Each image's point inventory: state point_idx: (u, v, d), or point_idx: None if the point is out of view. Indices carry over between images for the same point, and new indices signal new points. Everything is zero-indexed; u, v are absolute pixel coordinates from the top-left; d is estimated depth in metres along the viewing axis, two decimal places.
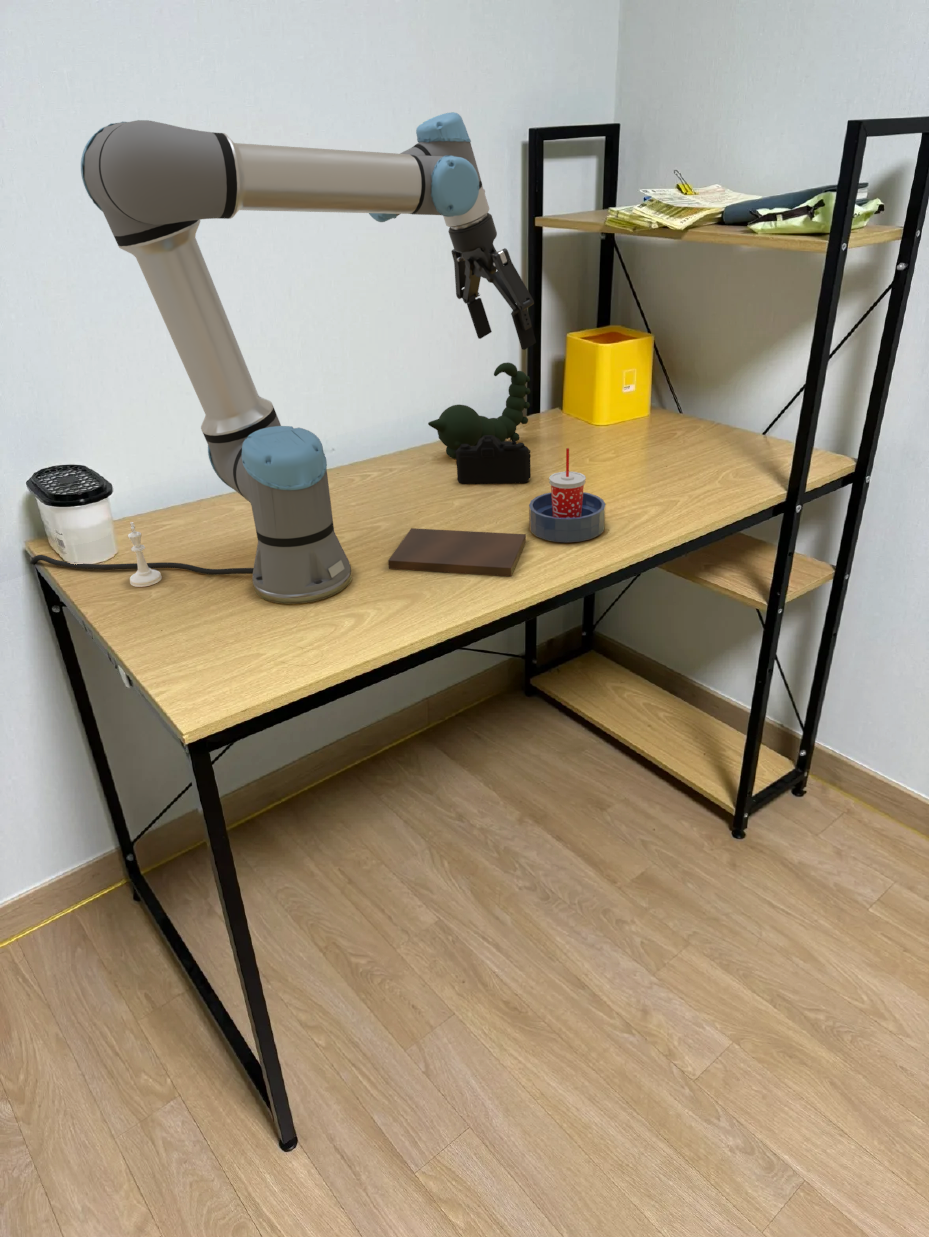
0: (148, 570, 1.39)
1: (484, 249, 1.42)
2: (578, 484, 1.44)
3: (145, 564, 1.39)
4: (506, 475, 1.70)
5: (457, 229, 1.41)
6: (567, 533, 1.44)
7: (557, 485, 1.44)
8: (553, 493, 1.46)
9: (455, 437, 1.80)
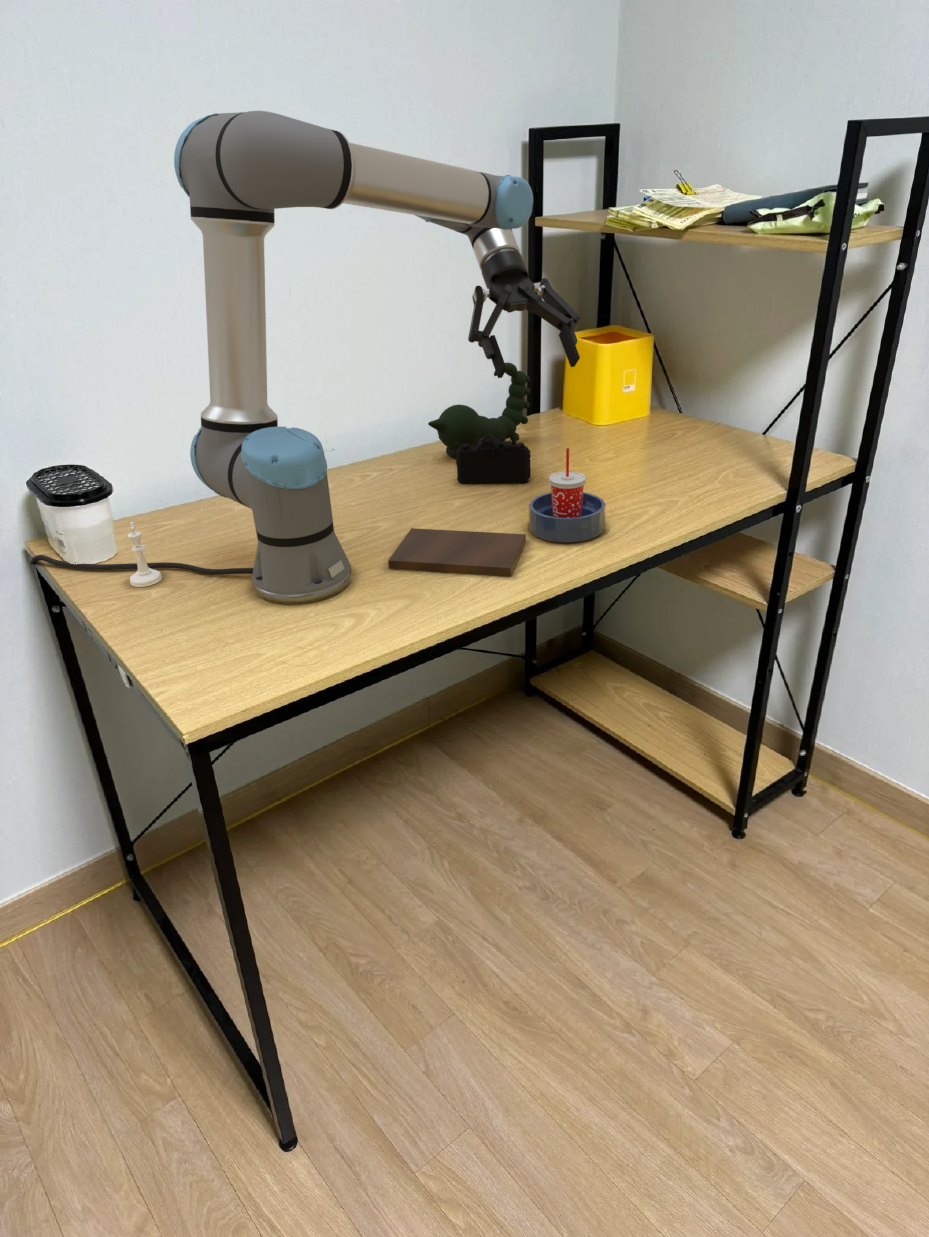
0: (148, 570, 1.39)
1: (528, 278, 1.51)
2: (578, 484, 1.44)
3: (145, 564, 1.39)
4: (506, 475, 1.70)
5: None
6: (567, 533, 1.44)
7: (557, 485, 1.44)
8: (553, 493, 1.46)
9: (455, 437, 1.80)
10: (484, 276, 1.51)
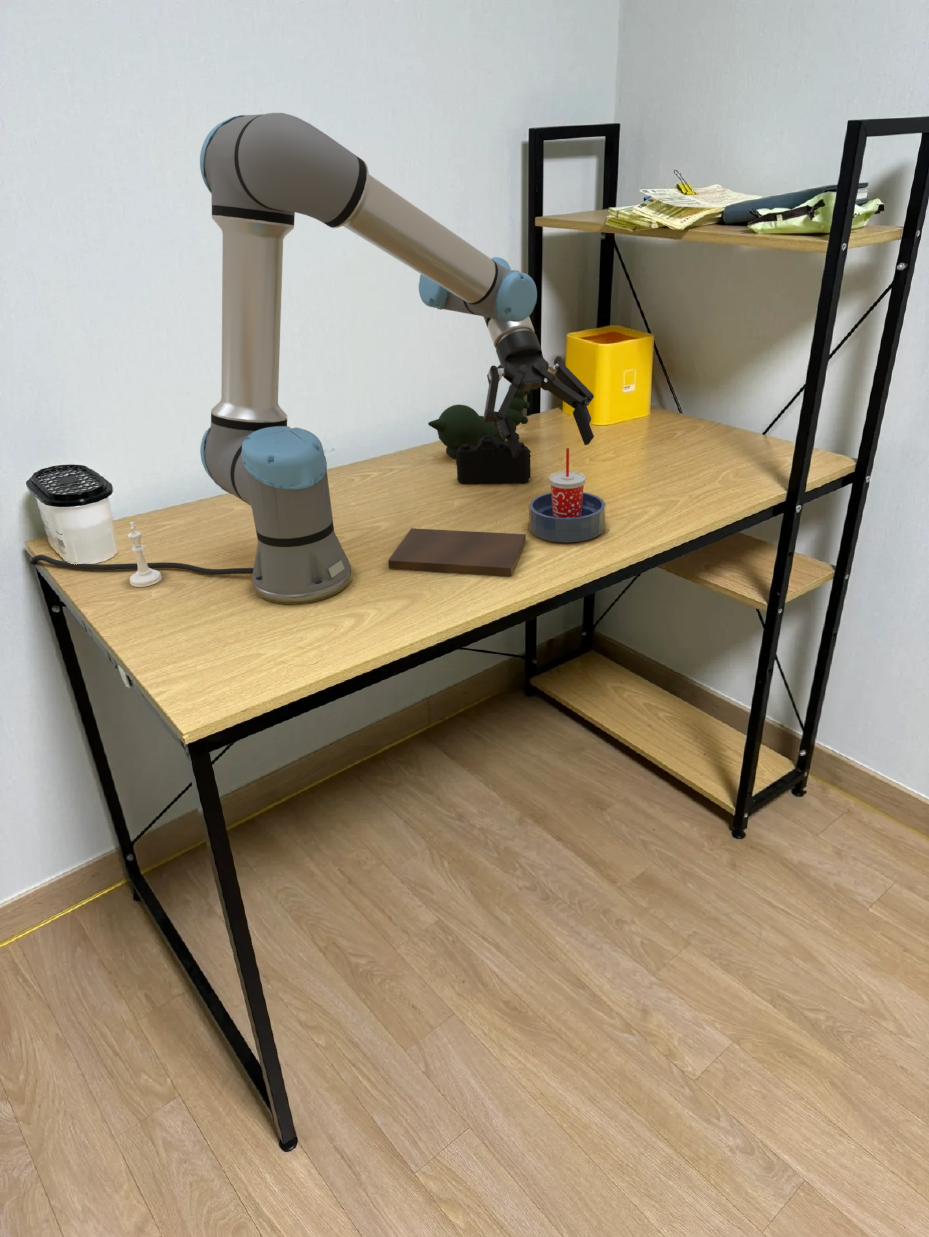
0: (148, 570, 1.39)
1: (542, 356, 1.53)
2: (578, 484, 1.44)
3: (145, 564, 1.39)
4: (506, 475, 1.70)
5: None
6: (567, 533, 1.44)
7: (557, 485, 1.44)
8: (553, 493, 1.46)
9: (455, 437, 1.80)
10: (499, 355, 1.52)
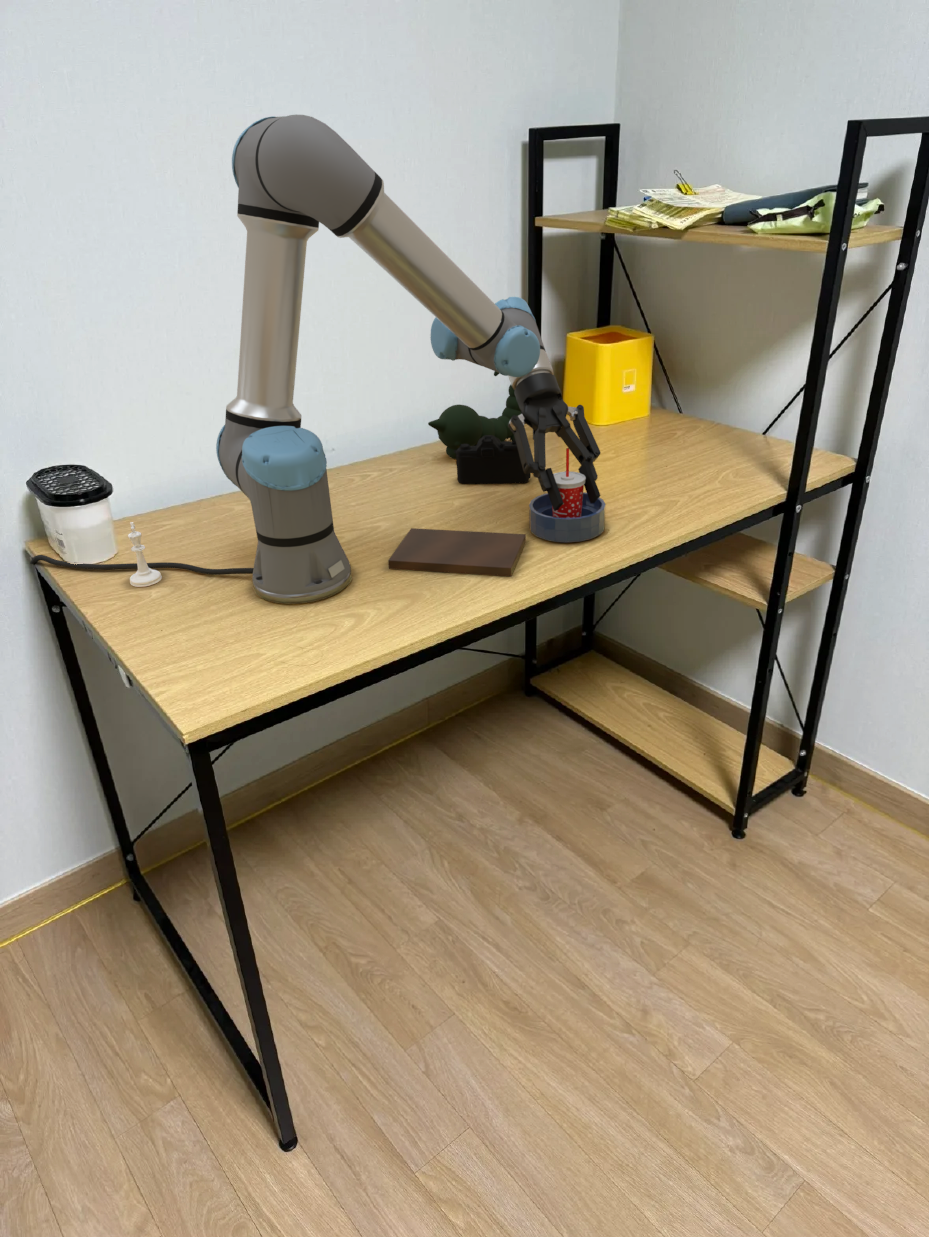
0: (148, 570, 1.39)
1: (561, 398, 1.49)
2: (578, 484, 1.44)
3: (145, 564, 1.39)
4: (506, 475, 1.70)
5: (544, 372, 1.47)
6: (567, 533, 1.44)
7: (557, 485, 1.44)
8: None
9: (455, 437, 1.80)
10: (517, 397, 1.49)
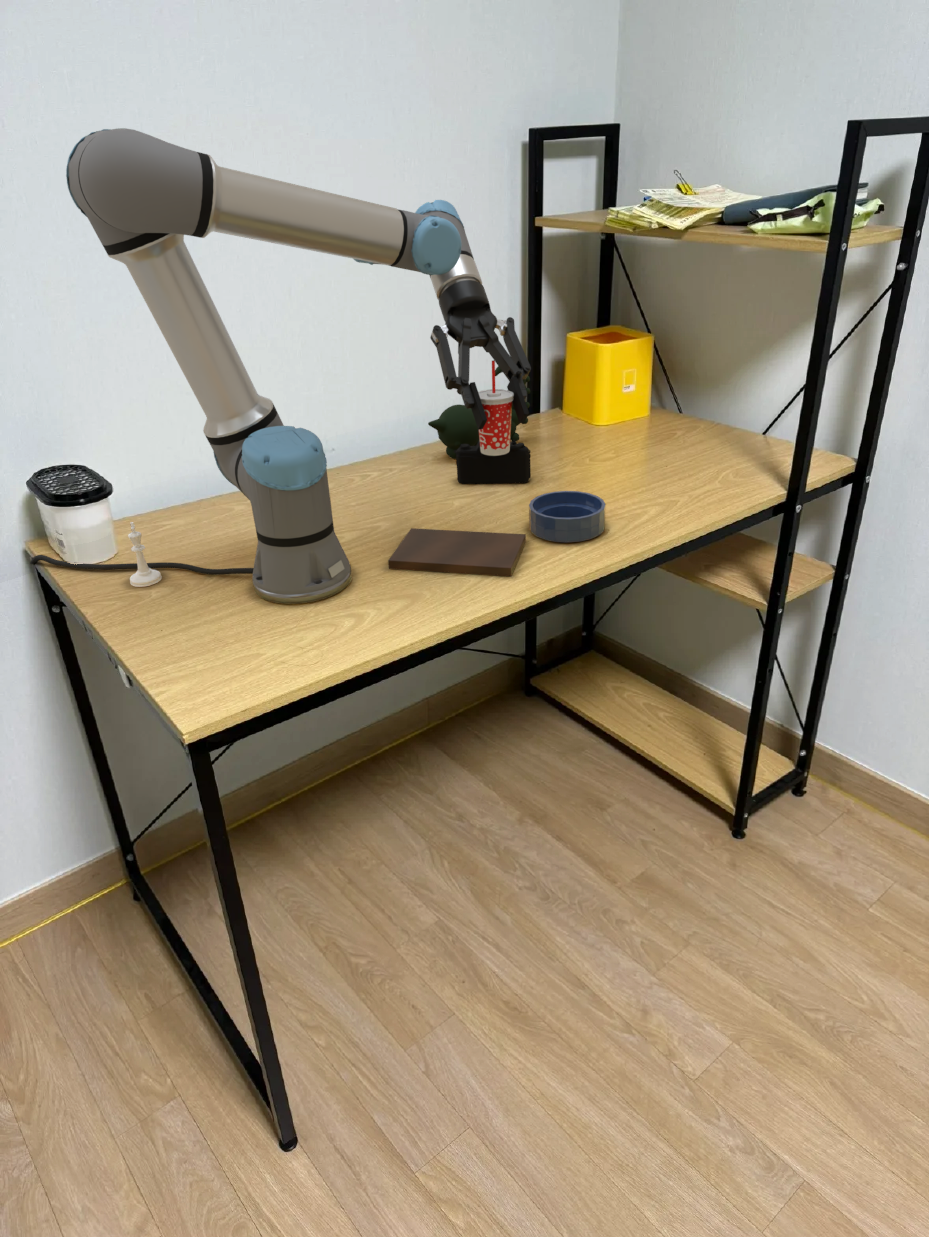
0: (148, 570, 1.39)
1: (490, 310, 1.37)
2: (504, 401, 1.31)
3: (145, 564, 1.39)
4: (506, 475, 1.70)
5: None
6: (567, 533, 1.44)
7: (482, 401, 1.32)
8: None
9: (455, 437, 1.80)
10: (441, 308, 1.36)
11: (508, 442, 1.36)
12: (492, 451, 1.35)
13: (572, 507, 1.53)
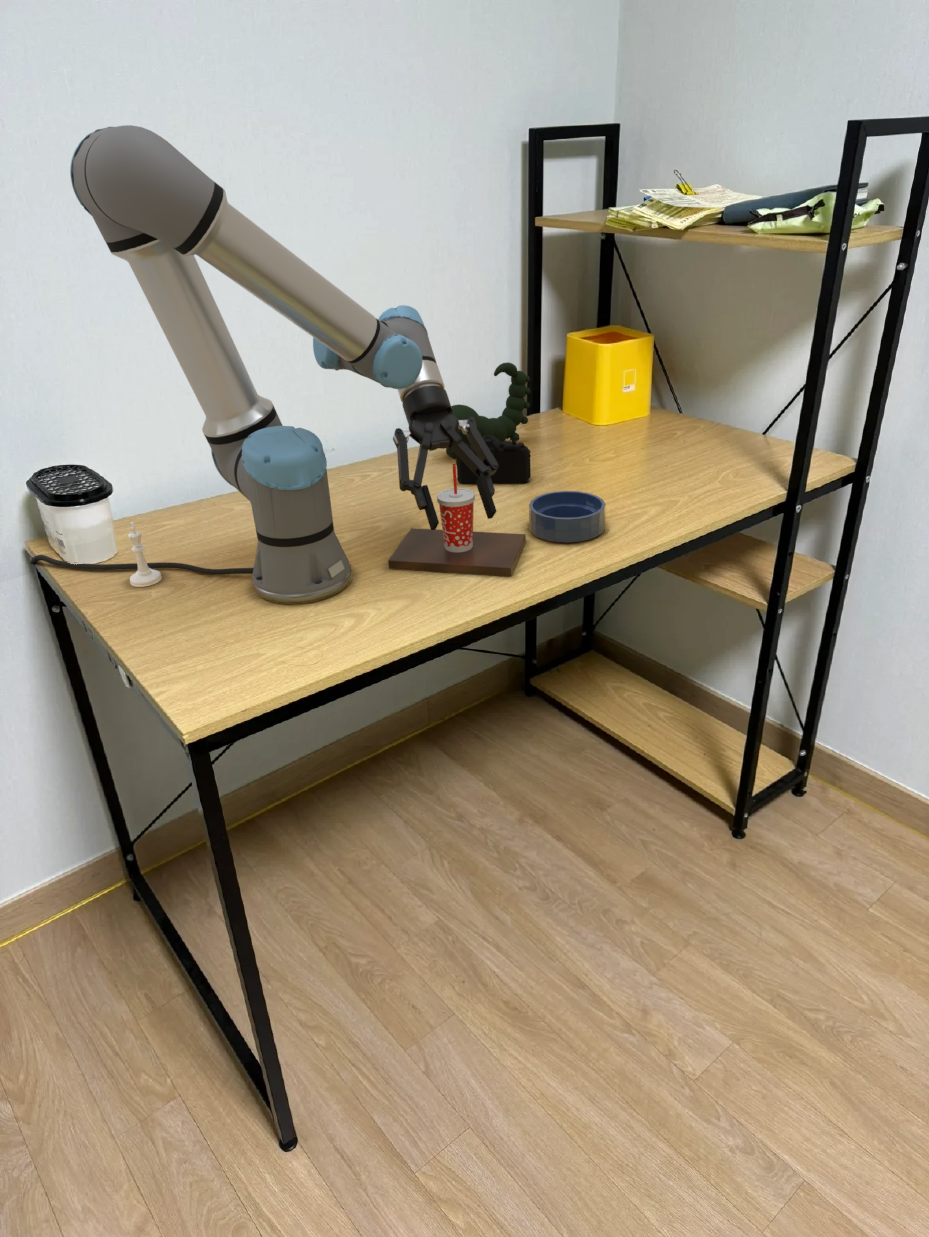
0: (148, 570, 1.39)
1: (452, 413, 1.41)
2: (465, 502, 1.36)
3: (145, 564, 1.39)
4: (506, 475, 1.70)
5: (432, 385, 1.40)
6: (567, 533, 1.44)
7: (443, 503, 1.36)
8: (440, 511, 1.38)
9: None
10: (405, 411, 1.41)
11: (471, 539, 1.41)
12: (455, 549, 1.40)
13: (572, 507, 1.53)
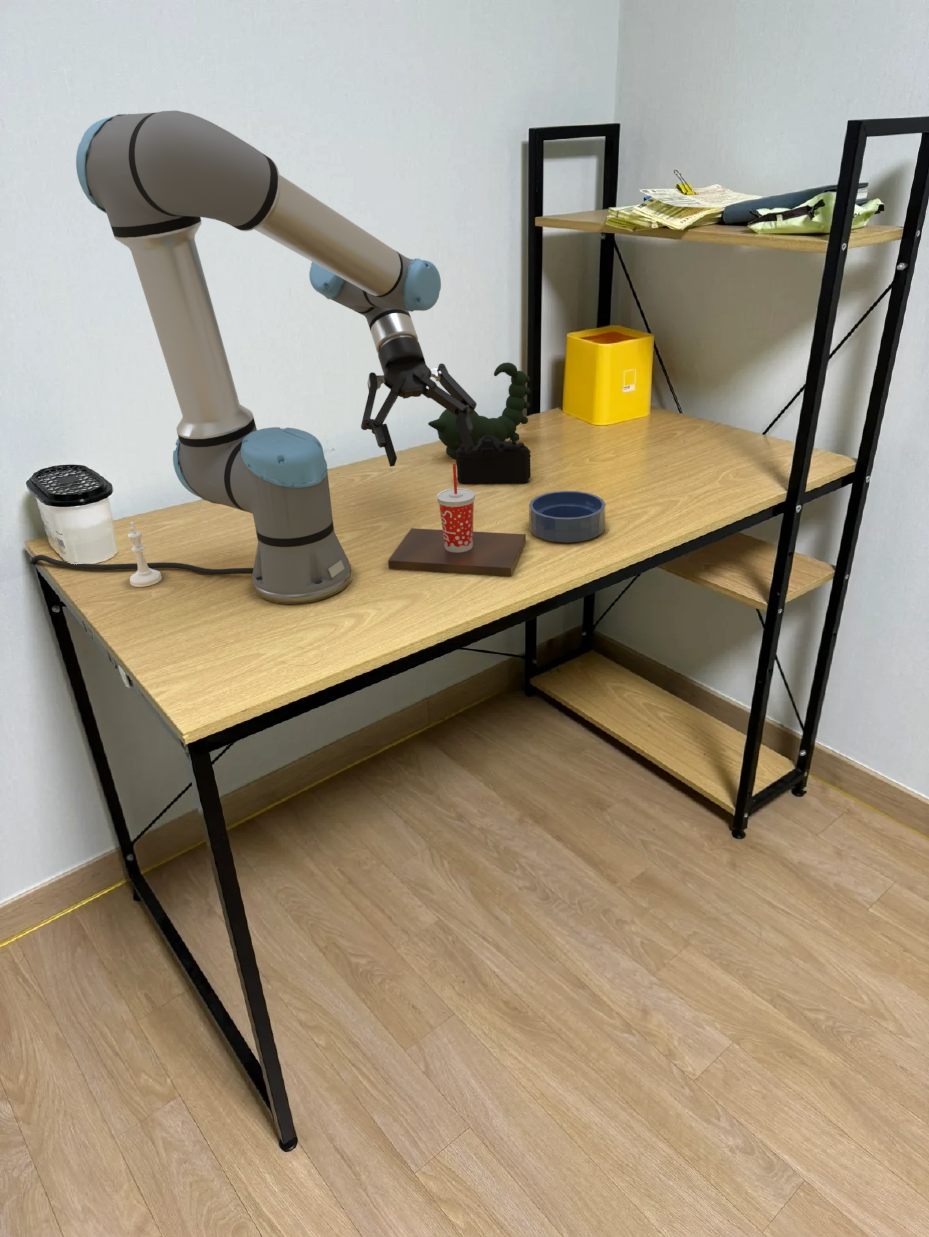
0: (148, 570, 1.39)
1: (424, 363, 1.50)
2: (465, 502, 1.36)
3: (145, 564, 1.39)
4: (506, 475, 1.70)
5: (406, 337, 1.48)
6: (567, 533, 1.44)
7: (443, 503, 1.36)
8: (440, 511, 1.38)
9: (455, 437, 1.80)
10: (380, 361, 1.50)
11: (471, 539, 1.41)
12: (455, 549, 1.40)
13: (572, 507, 1.53)
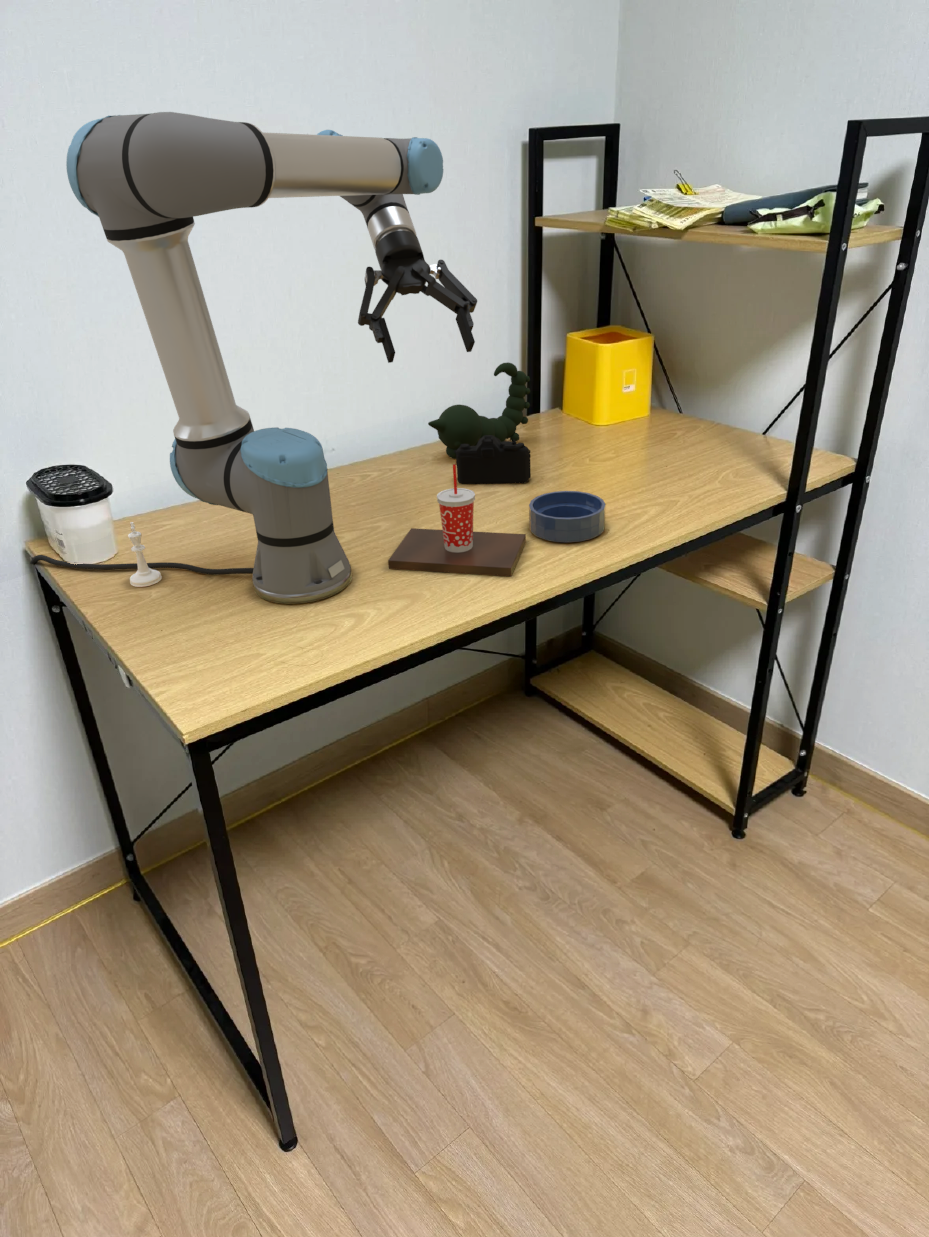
0: (148, 570, 1.39)
1: (423, 259, 1.45)
2: (465, 502, 1.36)
3: (145, 564, 1.39)
4: (506, 475, 1.70)
5: None
6: (567, 533, 1.44)
7: (443, 503, 1.36)
8: (440, 511, 1.38)
9: (455, 437, 1.80)
10: (377, 257, 1.45)
11: (471, 539, 1.41)
12: (455, 549, 1.40)
13: (572, 507, 1.53)
